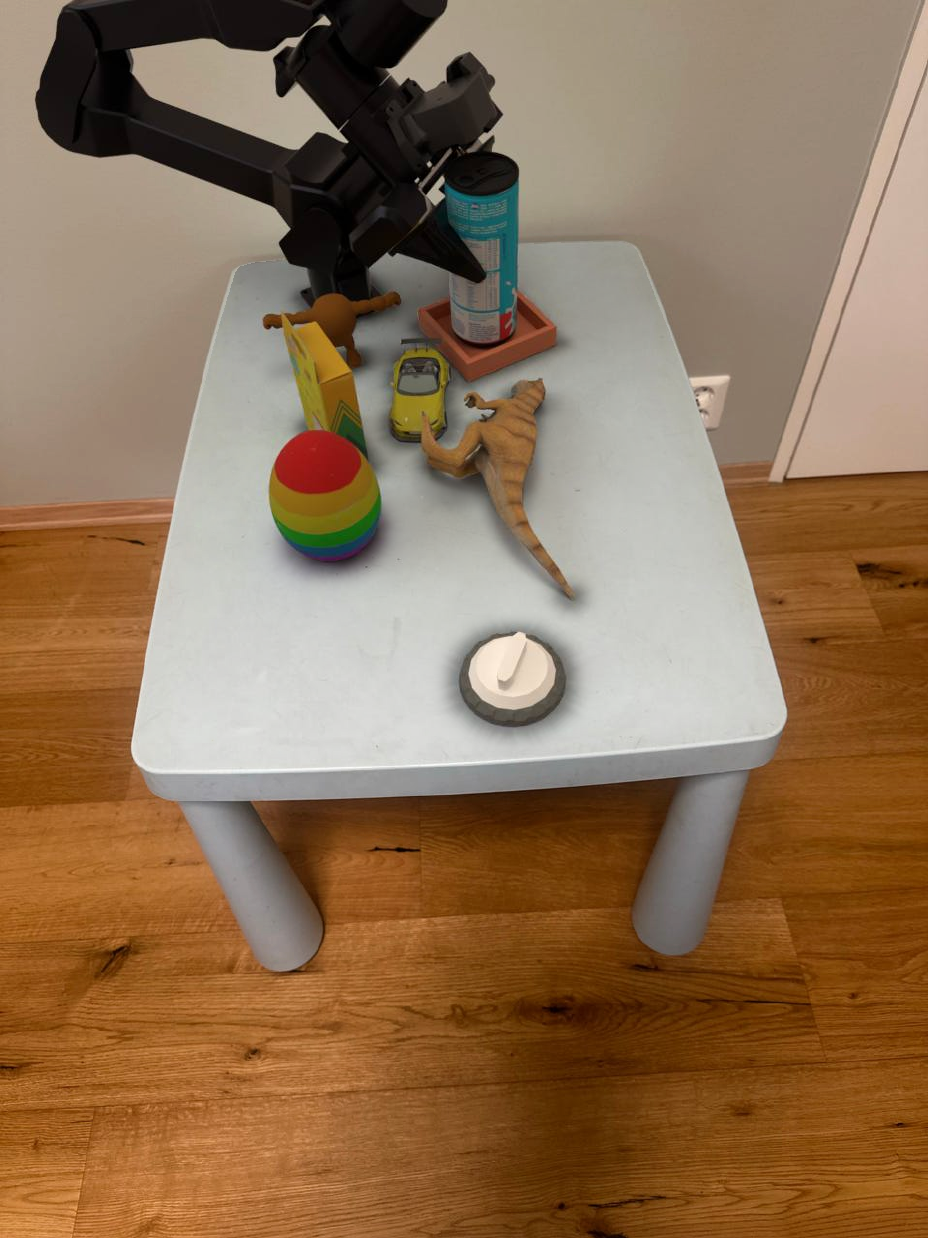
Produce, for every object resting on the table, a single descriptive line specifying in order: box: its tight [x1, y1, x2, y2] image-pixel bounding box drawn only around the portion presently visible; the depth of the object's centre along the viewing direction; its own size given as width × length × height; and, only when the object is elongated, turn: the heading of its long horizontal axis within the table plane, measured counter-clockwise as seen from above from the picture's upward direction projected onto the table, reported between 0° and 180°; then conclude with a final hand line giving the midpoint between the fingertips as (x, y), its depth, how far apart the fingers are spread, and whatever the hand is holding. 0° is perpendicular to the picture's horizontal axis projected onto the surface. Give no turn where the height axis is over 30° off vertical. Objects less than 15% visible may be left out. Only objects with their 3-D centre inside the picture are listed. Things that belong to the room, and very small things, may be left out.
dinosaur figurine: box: [421, 377, 575, 601], centre depth 72 cm, size 7×22×12 cm
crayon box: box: [280, 310, 370, 463], centre depth 73 cm, size 7×3×12 cm, turn 27°
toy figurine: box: [262, 290, 403, 369], centre depth 81 cm, size 12×4×7 cm, turn 102°
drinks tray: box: [417, 288, 558, 383], centre depth 85 cm, size 9×9×2 cm
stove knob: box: [458, 631, 566, 727], centre depth 63 cm, size 7×7×3 cm
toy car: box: [388, 337, 452, 442], centre depth 79 cm, size 5×10×3 cm, turn 178°
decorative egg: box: [268, 430, 382, 562], centre depth 68 cm, size 8×8×10 cm
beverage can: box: [443, 151, 520, 348], centre depth 79 cm, size 6×6×15 cm
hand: (497, 259), depth 78 cm, fingers closed on beverage can, 6 cm apart
